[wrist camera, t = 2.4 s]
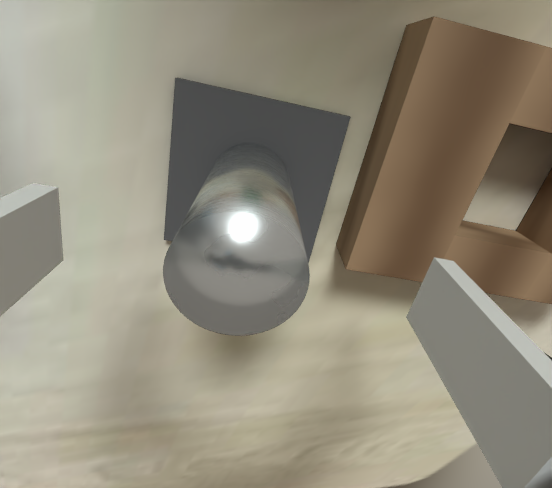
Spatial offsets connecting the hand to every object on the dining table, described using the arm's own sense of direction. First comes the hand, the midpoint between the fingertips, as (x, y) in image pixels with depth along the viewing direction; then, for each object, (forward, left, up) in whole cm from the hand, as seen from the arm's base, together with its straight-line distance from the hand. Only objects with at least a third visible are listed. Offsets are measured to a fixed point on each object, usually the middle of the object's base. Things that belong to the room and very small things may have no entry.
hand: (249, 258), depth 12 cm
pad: (0, 0, -9) cm, 9 cm away
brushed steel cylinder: (0, 0, -8) cm, 8 cm away
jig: (+14, +3, -9) cm, 16 cm away
